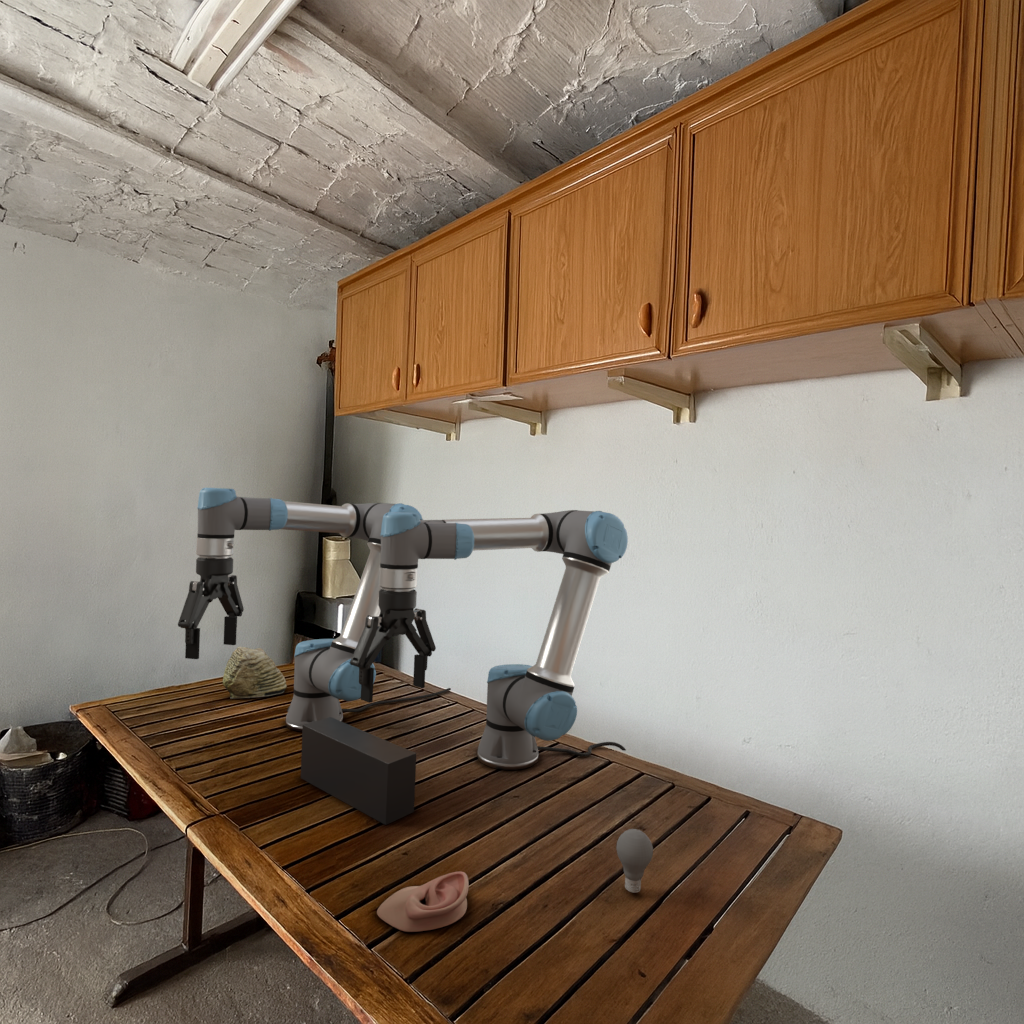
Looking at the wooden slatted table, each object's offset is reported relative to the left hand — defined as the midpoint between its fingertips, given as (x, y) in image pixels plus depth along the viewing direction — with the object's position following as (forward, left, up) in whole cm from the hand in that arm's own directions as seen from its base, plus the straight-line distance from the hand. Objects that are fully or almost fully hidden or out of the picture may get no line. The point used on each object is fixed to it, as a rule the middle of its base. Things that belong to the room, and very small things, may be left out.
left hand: (211, 651), depth 142 cm
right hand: (-16, +43, -3) cm, 46 cm away
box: (-16, +32, -28) cm, 45 cm away
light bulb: (-27, +92, -28) cm, 100 cm away
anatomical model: (0, +70, -28) cm, 75 cm away
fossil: (-36, -44, -28) cm, 63 cm away
